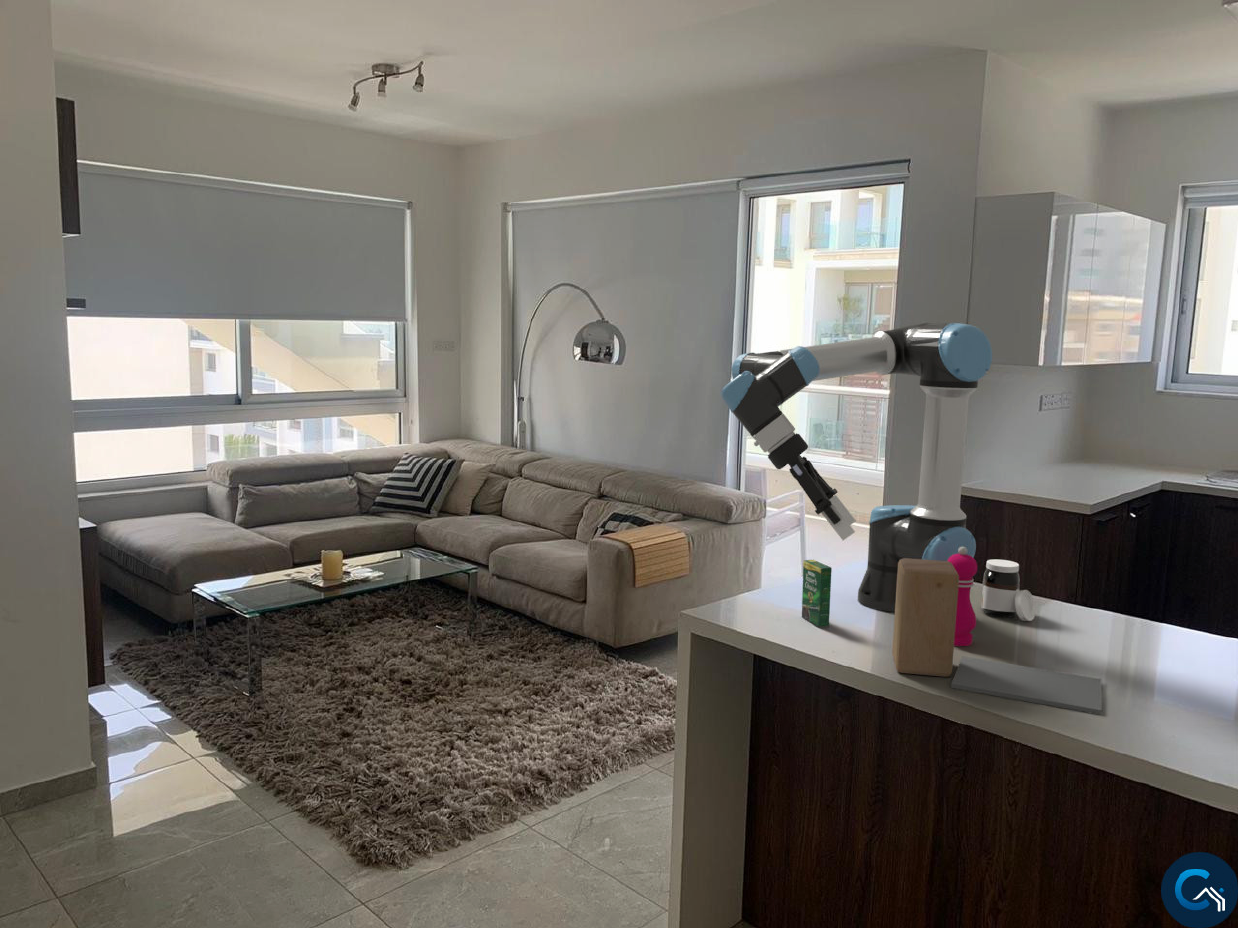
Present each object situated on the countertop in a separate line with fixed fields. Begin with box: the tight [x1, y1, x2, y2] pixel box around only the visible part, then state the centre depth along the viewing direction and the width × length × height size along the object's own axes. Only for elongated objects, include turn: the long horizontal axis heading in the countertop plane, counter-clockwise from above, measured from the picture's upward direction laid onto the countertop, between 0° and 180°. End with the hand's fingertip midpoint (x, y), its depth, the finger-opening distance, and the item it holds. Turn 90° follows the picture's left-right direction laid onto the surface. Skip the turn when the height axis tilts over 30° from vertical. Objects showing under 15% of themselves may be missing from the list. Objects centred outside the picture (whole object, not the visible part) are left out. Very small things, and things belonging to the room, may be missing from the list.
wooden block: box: [891, 558, 959, 678], centre depth 177 cm, size 10×10×20 cm
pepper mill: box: [947, 547, 978, 647], centre depth 192 cm, size 7×7×20 cm
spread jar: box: [980, 559, 1036, 622], centre depth 211 cm, size 12×11×12 cm
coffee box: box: [801, 559, 832, 628], centre depth 203 cm, size 8×3×13 cm, turn 17°
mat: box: [950, 655, 1103, 715], centre depth 170 cm, size 16×24×1 cm, turn 64°
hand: (849, 530), depth 180 cm, fingers open, 13 cm apart
